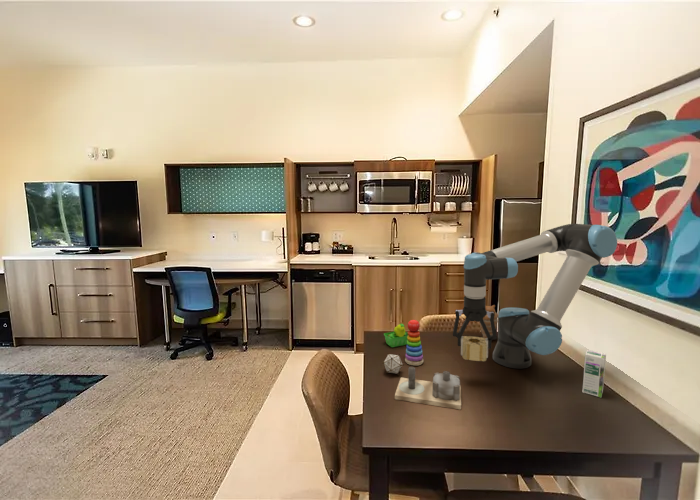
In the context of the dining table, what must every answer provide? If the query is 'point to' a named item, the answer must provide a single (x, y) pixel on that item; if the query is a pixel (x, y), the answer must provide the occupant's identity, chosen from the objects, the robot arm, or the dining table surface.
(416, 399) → the gear board
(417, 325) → the stacking toy
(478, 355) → the brass gear
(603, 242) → the robot arm
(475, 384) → the dining table surface
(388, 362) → the game die
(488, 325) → the cat ice cream
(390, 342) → the fruit basket
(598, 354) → the syrup box
